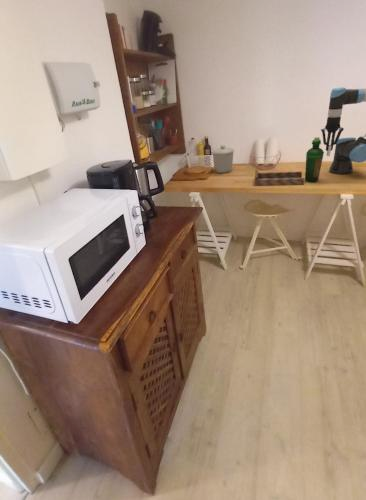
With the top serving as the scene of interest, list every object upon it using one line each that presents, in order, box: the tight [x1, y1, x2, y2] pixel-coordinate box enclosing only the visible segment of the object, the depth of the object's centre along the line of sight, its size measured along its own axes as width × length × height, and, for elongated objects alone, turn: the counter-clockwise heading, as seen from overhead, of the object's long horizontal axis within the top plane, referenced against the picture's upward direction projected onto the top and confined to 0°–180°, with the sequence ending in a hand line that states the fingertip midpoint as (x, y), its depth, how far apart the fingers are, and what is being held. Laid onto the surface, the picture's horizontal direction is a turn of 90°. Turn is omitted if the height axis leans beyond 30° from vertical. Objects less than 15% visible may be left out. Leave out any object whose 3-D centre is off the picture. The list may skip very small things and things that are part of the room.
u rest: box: [254, 169, 305, 187], centre depth 205 cm, size 32×17×6 cm, turn 77°
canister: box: [211, 144, 235, 174], centre depth 236 cm, size 18×18×21 cm
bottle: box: [304, 137, 325, 183], centre depth 194 cm, size 11×11×28 cm
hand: (328, 155), depth 191 cm, fingers closed
